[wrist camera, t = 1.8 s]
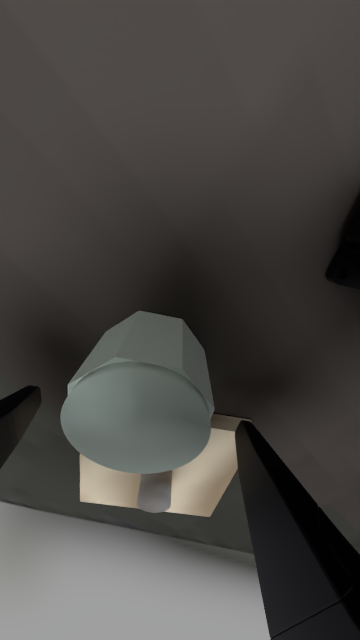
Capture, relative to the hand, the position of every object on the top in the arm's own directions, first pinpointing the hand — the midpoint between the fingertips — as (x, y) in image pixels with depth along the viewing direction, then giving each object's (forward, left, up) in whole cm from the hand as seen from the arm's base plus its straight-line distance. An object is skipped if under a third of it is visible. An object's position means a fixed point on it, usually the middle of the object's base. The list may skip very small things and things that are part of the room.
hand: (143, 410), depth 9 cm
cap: (0, 0, -4) cm, 4 cm away
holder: (-2, +10, -4) cm, 11 cm away
